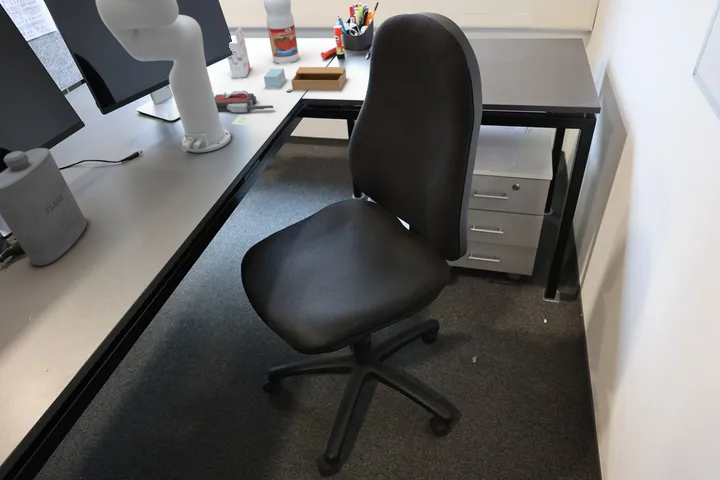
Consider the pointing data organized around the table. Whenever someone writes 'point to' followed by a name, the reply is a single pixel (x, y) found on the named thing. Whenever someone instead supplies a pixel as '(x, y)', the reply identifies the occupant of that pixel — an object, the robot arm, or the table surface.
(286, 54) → the fruit juice
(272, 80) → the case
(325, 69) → the flap
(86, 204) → the table surface
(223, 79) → the table surface
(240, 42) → the ink cartridge box
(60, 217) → the flask
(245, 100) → the toy chainsaw
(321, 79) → the carton
